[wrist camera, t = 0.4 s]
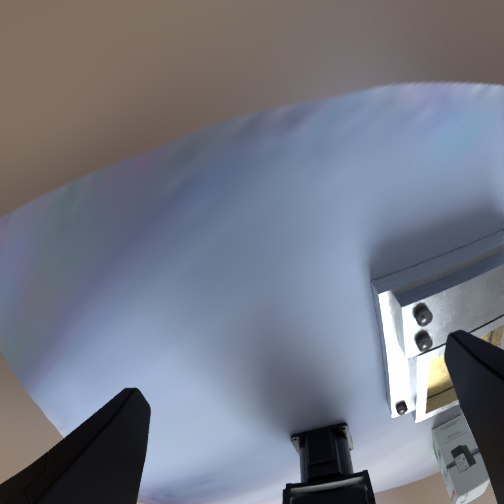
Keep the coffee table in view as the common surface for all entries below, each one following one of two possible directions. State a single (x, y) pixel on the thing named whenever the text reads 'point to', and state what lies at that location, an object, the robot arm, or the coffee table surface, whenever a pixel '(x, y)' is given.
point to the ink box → (459, 461)
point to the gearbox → (437, 321)
